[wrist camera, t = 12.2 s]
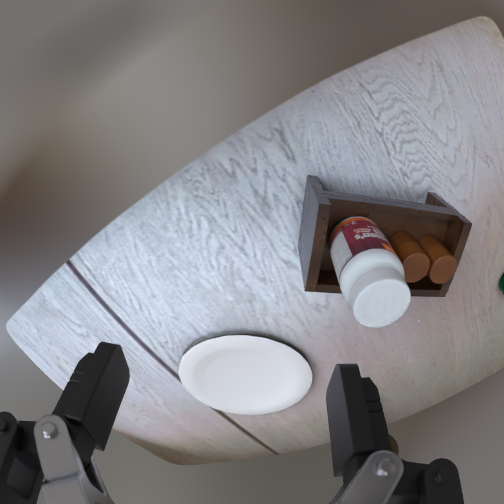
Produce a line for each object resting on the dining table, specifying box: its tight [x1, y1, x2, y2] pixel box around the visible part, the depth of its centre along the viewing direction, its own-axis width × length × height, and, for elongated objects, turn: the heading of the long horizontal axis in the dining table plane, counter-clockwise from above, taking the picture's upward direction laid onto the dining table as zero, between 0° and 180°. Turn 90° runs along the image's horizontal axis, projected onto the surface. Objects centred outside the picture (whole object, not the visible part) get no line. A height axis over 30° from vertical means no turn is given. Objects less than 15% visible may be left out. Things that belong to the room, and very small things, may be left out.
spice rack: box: [298, 175, 472, 297], centre depth 34 cm, size 10×18×12 cm, turn 87°
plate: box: [179, 334, 312, 415], centre depth 55 cm, size 25×25×2 cm
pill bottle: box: [328, 216, 411, 328], centre depth 28 cm, size 6×6×11 cm
